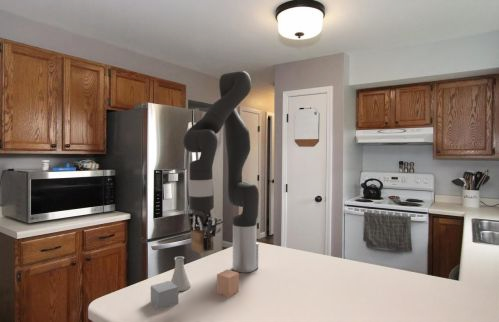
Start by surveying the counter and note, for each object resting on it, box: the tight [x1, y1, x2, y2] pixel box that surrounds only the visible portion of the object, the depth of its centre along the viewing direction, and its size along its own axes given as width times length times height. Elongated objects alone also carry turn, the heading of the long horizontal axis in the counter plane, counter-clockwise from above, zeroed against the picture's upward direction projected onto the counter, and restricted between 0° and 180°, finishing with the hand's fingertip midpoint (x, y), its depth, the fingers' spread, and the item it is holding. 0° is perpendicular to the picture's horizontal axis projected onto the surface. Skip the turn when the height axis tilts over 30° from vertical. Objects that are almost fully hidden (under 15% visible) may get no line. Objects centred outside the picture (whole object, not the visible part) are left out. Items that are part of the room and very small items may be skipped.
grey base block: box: [150, 280, 179, 310], centre depth 93 cm, size 6×6×5 cm
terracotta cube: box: [216, 269, 240, 298], centre depth 100 cm, size 5×5×6 cm
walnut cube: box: [190, 229, 214, 254], centre depth 97 cm, size 5×5×6 cm
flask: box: [170, 255, 191, 292], centre depth 103 cm, size 7×7×10 cm
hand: (202, 247), depth 97 cm, fingers closed on walnut cube, 5 cm apart
